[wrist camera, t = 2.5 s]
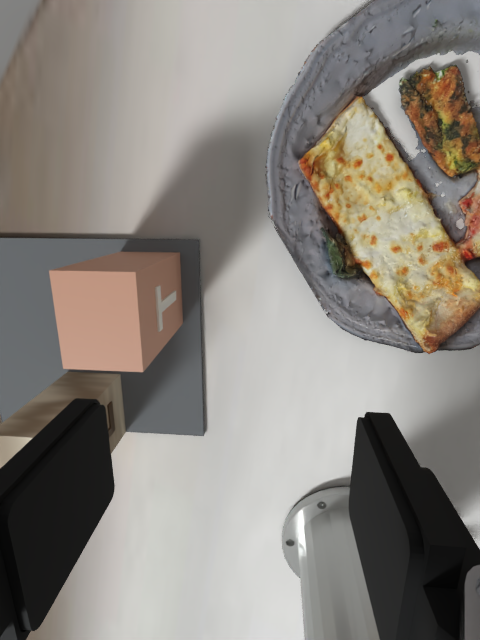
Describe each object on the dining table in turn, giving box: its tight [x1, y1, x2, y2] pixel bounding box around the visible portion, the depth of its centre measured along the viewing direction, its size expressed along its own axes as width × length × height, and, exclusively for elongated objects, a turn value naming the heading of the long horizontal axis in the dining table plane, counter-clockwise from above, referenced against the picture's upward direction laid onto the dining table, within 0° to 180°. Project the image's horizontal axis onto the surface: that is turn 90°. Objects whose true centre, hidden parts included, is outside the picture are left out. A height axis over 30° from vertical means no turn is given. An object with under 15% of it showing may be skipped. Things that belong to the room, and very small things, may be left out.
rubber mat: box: [0, 238, 204, 436], centre depth 33 cm, size 20×18×1 cm
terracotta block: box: [49, 252, 183, 372], centre depth 26 cm, size 5×6×10 cm
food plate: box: [266, 0, 480, 354], centre depth 26 cm, size 25×23×4 cm
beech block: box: [0, 372, 126, 468], centre depth 30 cm, size 5×6×10 cm
